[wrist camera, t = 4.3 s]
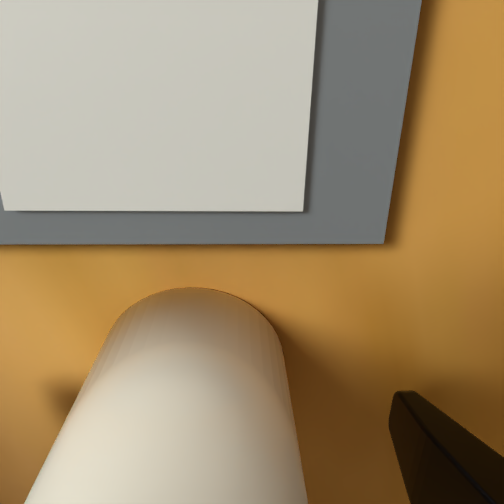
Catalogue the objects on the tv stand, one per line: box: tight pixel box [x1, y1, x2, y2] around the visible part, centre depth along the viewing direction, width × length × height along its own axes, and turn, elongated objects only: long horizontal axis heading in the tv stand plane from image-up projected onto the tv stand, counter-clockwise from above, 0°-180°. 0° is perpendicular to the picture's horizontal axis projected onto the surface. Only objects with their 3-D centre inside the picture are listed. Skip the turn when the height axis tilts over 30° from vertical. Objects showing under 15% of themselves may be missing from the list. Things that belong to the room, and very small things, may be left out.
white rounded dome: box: [24, 287, 308, 504], centre depth 7 cm, size 4×4×6 cm
